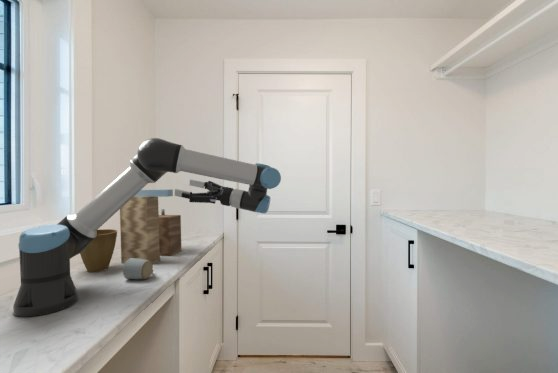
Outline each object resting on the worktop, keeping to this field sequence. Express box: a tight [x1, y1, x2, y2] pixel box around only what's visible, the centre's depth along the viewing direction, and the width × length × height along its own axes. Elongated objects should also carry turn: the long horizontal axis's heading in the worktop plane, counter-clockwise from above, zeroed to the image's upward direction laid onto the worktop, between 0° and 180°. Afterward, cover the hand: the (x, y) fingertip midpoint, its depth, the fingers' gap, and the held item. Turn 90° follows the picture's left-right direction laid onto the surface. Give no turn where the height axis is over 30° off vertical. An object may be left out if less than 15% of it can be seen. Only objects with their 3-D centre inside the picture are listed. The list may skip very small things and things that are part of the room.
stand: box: [119, 197, 161, 265], centre depth 135 cm, size 14×8×30 cm, turn 77°
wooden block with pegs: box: [159, 208, 182, 257], centre depth 151 cm, size 16×11×22 cm, turn 77°
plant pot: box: [79, 228, 118, 273], centre depth 124 cm, size 15×15×16 cm
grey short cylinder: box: [122, 258, 154, 281], centre depth 113 cm, size 11×8×8 cm
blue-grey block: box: [134, 188, 174, 198], centre depth 134 cm, size 22×4×3 cm, turn 77°
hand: (182, 186), depth 122 cm, fingers open, 13 cm apart
